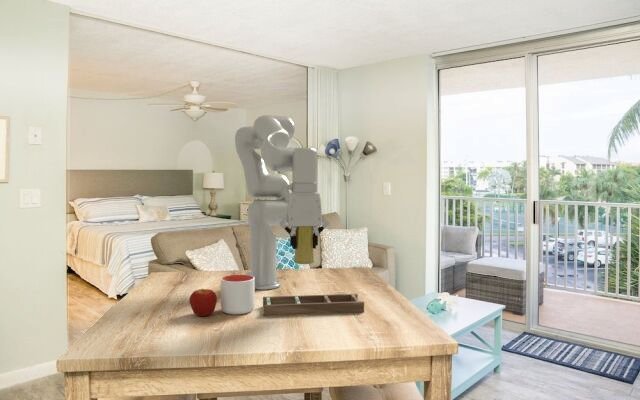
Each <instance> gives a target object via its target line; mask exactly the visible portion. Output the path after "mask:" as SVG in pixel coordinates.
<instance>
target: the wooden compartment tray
mask: <svg viewBox="0 0 640 400" xmlns="http://www.w3.org/2000/svg"><path fill="white" fill-rule="evenodd" d="M262 307H263V316H264V317H268V316H269V317H272V316H293V315H294V316H295V315H322V314H324V315H325V314H344V313H345V314H348V313H364V312H365V301H364V300H362V301H361V300H359V299H358V293H335V294H314V295H313V294H310V295H308V294H307V295H304V294H303V295H279V296H278V295H277V296H276V295H275V296H263V297H262Z"/></svg>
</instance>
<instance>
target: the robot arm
mask: <svg viewBox="0 0 640 400" xmlns="http://www.w3.org/2000/svg"><path fill="white" fill-rule="evenodd" d="M294 134H295V123H294V121H293V120H292V119H291V118H290V117H288V116H286V115H285V116H283V115H282V116H281V115H272V114H271V115H269V114H268V115H267V114H265V115H264V114H263V115H261V116H258V117H257V118H256V119H255V120H254V123H253V125H251V126H241V127H240V128H239V129H237V130H236V132H235V136H234V145H235V150H236V153H237V155H238V158H239V160H240V162H241V164H242V169H243V174H244V180H245V185H246V189H247V190H246V191H247V193H248V196H249V197H250V198H253V199H257V200H254V201H252V202H251V203H250V204H248V207H247V211H246V213H247V220H248V225H249V226H248V227H249V244H250V245H249V246H250V251H249V253H250V254H249V255H250V258H249V259H250V262H249V263H250V271H247V272H246V273H244V275H250V276H253V277H254V278H255V290H261V291H262V290H263V291H264V290H266V291H267V290H272V289H277V288H279V287H281V284H282V283H281V281H280V280H278V279H277V236H276V234H275V232H274V231H273V230H272V228H271V227H273V226H280V227H281V228H282V229H284V231H285V232H286V233H288V235H289V238H290V239H289V241H290V242H289V245H290V247H291V248H292V249H293V250H295V249H296V236H295V231H296V228H297V227H304V226H307V227H313V250H316V249H317V247H318V244H319V235H320V234H321V233H322V232H323V231H324V230H325V229H326V228H327V227H329V225H330V223H329V221H328V220H327V219H326V218H325V217H324V216H323V213H322V212H323V211H322V200H321V199H322V198H321V194H320V193H319V192H318V150H317V149H316V148H314V147H293V146H292V147H291V146H290V147H289V146H288V145H289V143H290V140H292V138H293V137H294ZM256 150H260V154H259V153H258V152H257V151H256ZM267 168H268V169H270V170H271V171H273V173H271V172H268V170H267ZM274 172H291V173H292V175H291V176H292V177H291V181H292V182H291V183H290V181H289V179H288V178H287V176H286V175H284V174H282V173H274ZM288 225H289V226H290V227H288Z"/></svg>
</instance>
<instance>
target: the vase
mask: <svg viewBox="0 0 640 400" xmlns="http://www.w3.org/2000/svg"><path fill="white" fill-rule="evenodd" d="M313 233H314V232H313V227H307V226H304V227H297V228H296V231H295V236H296V249H294V258H293V259H294V260H293V263H294V264H298V265H311V264H313V263H314V262H315V259H314V248H313Z"/></svg>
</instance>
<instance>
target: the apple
mask: <svg viewBox="0 0 640 400" xmlns="http://www.w3.org/2000/svg"><path fill="white" fill-rule="evenodd" d="M217 303H218V297H217V294H216V293H215V291H214V290H212V289H205V288H202V289H197V290H194V291H193V292H192V293H191V294H190V296H189V306H190V307H191V310H192V312H193V314H195V315H196V316H199V317H208V316H210V315H211V314H213V313H214V311H215V310H216V306H217Z"/></svg>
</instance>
